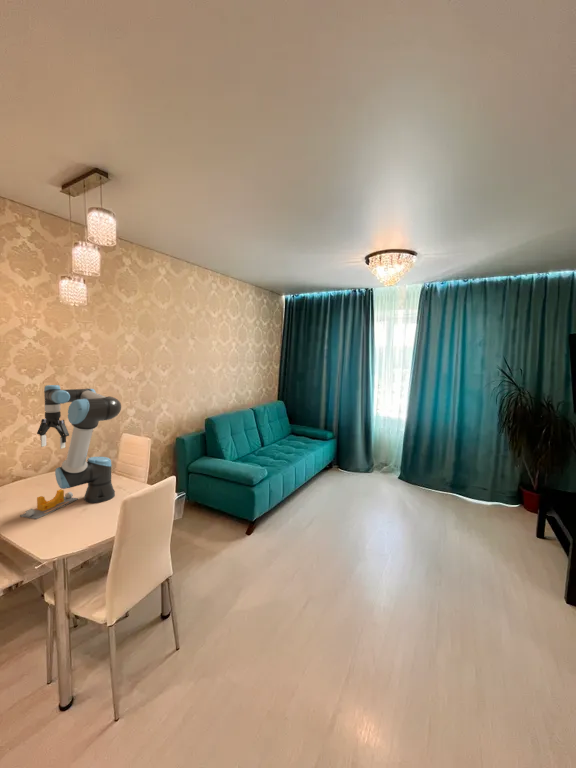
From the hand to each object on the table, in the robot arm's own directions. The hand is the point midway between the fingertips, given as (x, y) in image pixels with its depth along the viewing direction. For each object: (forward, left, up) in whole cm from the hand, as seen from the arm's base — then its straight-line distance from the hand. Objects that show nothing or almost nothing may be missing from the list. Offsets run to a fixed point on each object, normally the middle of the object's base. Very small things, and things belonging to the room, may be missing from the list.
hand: (53, 447), depth 189 cm
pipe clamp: (-18, +17, -26) cm, 36 cm away
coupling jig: (-18, +18, -27) cm, 36 cm away
